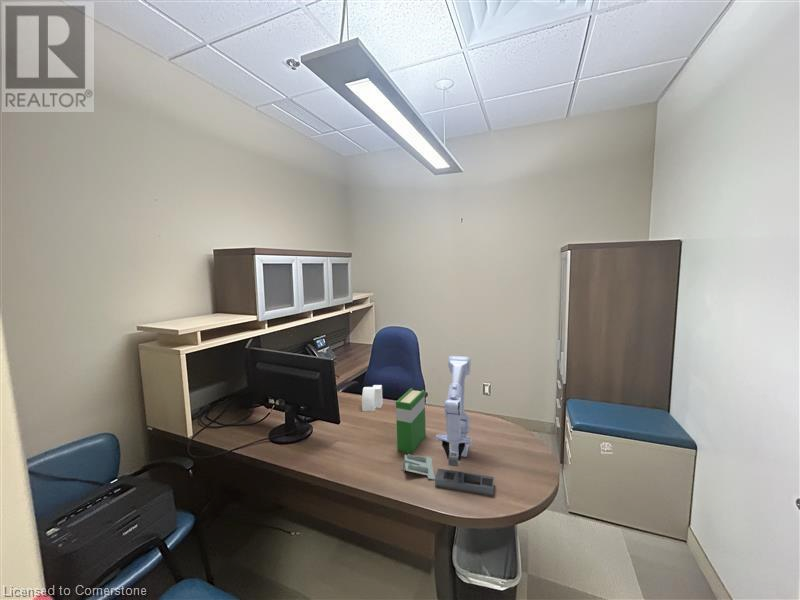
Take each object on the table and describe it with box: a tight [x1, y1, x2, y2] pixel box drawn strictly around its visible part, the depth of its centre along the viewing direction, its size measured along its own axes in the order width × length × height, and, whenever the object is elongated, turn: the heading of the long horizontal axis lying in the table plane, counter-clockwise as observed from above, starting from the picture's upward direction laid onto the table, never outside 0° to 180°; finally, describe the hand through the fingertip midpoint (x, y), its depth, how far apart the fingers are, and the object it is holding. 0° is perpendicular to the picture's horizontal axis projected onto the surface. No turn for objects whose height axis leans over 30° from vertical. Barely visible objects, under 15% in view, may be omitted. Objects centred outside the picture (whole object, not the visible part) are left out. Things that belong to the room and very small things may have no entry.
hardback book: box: [395, 387, 427, 455], centre depth 160 cm, size 18×7×24 cm, turn 155°
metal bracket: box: [400, 453, 436, 481], centre depth 141 cm, size 14×6×15 cm
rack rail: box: [434, 468, 495, 497], centre depth 130 cm, size 7×22×3 cm, turn 73°
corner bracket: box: [361, 384, 384, 412], centre depth 202 cm, size 11×11×12 cm
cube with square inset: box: [447, 450, 460, 468], centre depth 137 cm, size 4×4×4 cm
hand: (454, 458), depth 137 cm, fingers closed on cube with square inset, 4 cm apart
